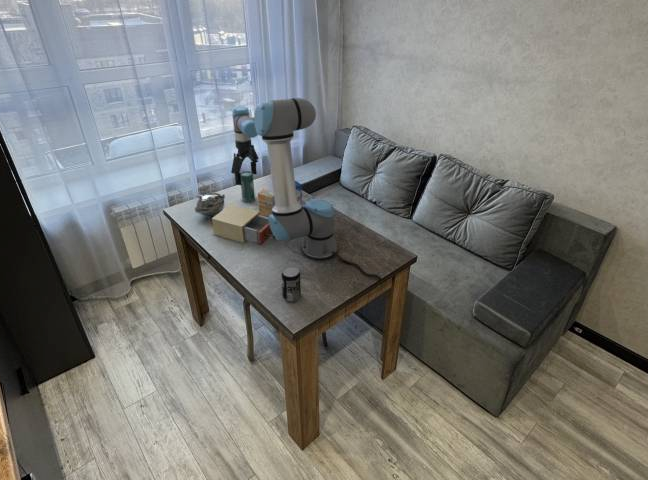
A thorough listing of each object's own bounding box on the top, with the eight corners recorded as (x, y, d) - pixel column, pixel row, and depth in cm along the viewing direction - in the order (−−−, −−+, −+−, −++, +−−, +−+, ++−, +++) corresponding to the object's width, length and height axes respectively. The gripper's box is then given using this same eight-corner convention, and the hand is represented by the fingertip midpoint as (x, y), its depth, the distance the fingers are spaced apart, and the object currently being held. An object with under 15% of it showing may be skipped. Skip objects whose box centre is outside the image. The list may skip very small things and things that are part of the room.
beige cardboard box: (260, 227, 186) (259, 211, 182) (243, 243, 175) (241, 226, 170) (232, 219, 191) (230, 204, 186) (214, 234, 179) (211, 218, 175)
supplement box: (258, 216, 194) (256, 193, 187) (263, 212, 198) (262, 188, 191) (273, 220, 191) (271, 196, 185) (278, 216, 195) (277, 192, 188)
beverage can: (287, 288, 151) (285, 263, 144) (303, 292, 149) (303, 267, 143) (279, 300, 145) (278, 274, 139) (296, 304, 144) (295, 279, 137)
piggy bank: (192, 214, 193) (189, 194, 187) (222, 206, 201) (219, 186, 195) (201, 225, 185) (197, 203, 180) (231, 215, 193) (228, 195, 187)
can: (256, 200, 207) (254, 174, 200) (245, 203, 204) (242, 177, 197) (251, 195, 212) (249, 170, 204) (240, 198, 209) (238, 172, 201)
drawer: (287, 233, 181) (287, 221, 177) (273, 249, 170) (272, 236, 167) (249, 223, 187) (248, 211, 183) (233, 237, 176) (231, 224, 173)
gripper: (250, 130, 202) (253, 168, 213) (220, 146, 182) (225, 187, 193) (263, 132, 200) (266, 171, 211) (234, 149, 180) (238, 190, 191)
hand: (246, 179), depth 202 cm, fingers open, 13 cm apart
